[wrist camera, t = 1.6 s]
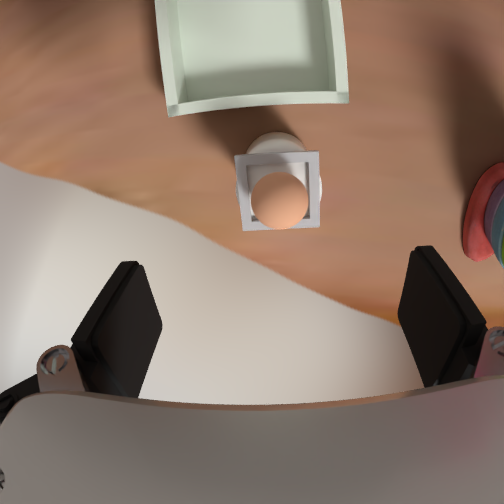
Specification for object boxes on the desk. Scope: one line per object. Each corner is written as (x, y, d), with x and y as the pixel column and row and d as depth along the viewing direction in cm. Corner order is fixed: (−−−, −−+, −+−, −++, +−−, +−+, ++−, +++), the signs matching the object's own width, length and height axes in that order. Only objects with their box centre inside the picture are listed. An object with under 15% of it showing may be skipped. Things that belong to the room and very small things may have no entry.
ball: (304, 163, 18) (311, 181, 15) (306, 213, 19) (311, 238, 16) (249, 167, 18) (245, 184, 15) (254, 216, 19) (251, 241, 17)
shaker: (308, 130, 22) (322, 148, 17) (311, 192, 25) (322, 229, 19) (241, 134, 23) (230, 153, 17) (247, 195, 26) (240, 233, 20)
